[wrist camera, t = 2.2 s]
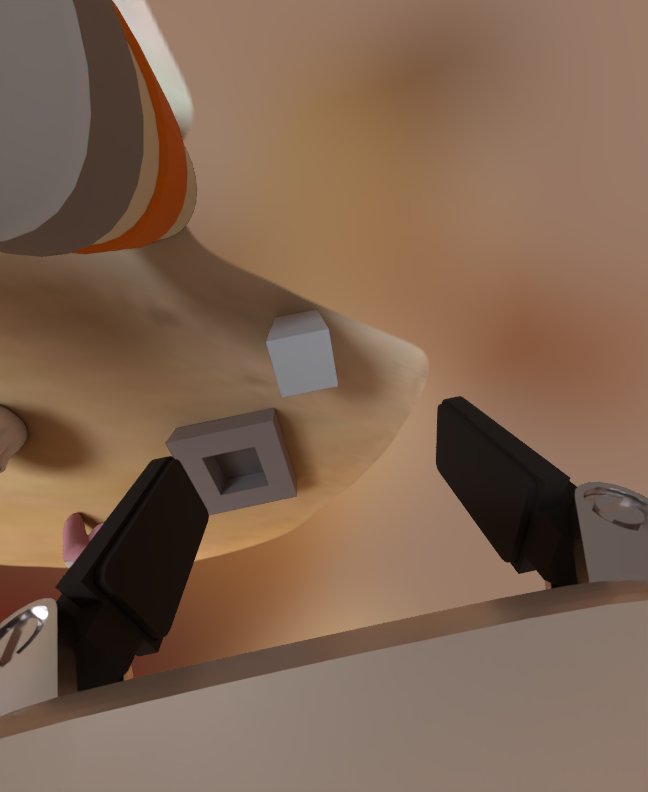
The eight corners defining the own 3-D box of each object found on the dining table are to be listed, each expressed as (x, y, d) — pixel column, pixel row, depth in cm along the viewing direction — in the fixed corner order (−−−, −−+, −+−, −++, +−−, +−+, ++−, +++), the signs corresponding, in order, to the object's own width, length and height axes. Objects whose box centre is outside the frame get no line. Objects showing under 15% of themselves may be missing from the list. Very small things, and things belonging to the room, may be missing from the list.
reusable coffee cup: (248, 225, 23) (182, 160, 9) (128, 286, 24) (-86, 308, 10) (150, 19, 17) (-372, -899, 4) (-1, 111, 18) (-829, -338, 5)
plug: (275, 317, 26) (265, 341, 17) (316, 309, 26) (328, 328, 17) (285, 357, 28) (281, 397, 19) (324, 349, 28) (338, 386, 19)
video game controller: (91, 519, 37) (69, 577, 33) (65, 512, 34) (36, 576, 30) (160, 509, 38) (147, 565, 34) (142, 501, 34) (125, 562, 30)
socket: (176, 428, 31) (165, 443, 28) (274, 407, 31) (272, 420, 28) (213, 497, 36) (206, 515, 33) (296, 479, 36) (296, 496, 34)
